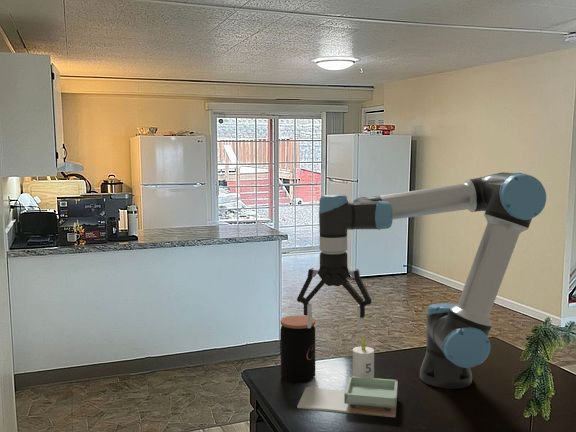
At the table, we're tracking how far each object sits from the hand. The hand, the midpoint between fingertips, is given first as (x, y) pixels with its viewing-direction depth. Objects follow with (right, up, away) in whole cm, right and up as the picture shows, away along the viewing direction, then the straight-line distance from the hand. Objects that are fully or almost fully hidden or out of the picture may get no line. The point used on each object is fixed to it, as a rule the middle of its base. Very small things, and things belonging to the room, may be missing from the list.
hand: (334, 328), depth 149 cm
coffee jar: (-10, -19, +18) cm, 28 cm away
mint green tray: (+10, -21, -1) cm, 23 cm away
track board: (+4, -20, 0) cm, 21 cm away
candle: (+10, -19, +12) cm, 25 cm away
